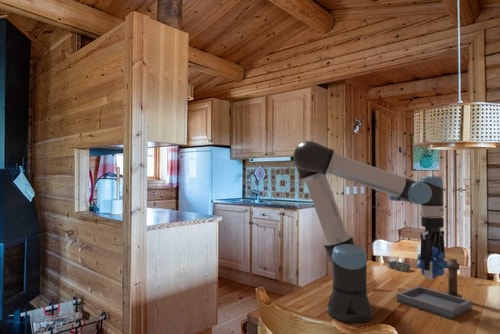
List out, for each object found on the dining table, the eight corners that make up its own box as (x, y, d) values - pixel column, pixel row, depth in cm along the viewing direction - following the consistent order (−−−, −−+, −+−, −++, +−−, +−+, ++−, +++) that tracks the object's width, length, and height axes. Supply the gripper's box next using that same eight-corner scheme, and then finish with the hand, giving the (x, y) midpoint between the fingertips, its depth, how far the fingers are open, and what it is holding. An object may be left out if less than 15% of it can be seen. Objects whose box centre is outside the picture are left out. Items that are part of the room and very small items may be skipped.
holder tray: (451, 319, 112) (451, 310, 112) (396, 301, 128) (396, 293, 128) (471, 309, 121) (471, 300, 121) (418, 293, 138) (418, 286, 138)
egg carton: (385, 268, 177) (385, 260, 177) (393, 265, 181) (393, 258, 181) (404, 272, 168) (404, 264, 168) (412, 270, 172) (412, 262, 172)
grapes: (454, 280, 122) (453, 248, 122) (444, 283, 118) (443, 250, 119) (423, 272, 132) (423, 242, 132) (413, 275, 128) (413, 244, 129)
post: (457, 302, 128) (457, 262, 128) (441, 297, 133) (441, 259, 133) (464, 299, 131) (464, 260, 132) (448, 294, 136) (448, 257, 137)
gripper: (429, 219, 117) (430, 284, 116) (454, 215, 128) (455, 275, 128) (408, 217, 123) (409, 279, 122) (434, 214, 135) (435, 270, 134)
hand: (433, 276), depth 125 cm, fingers closed on grapes, 7 cm apart
